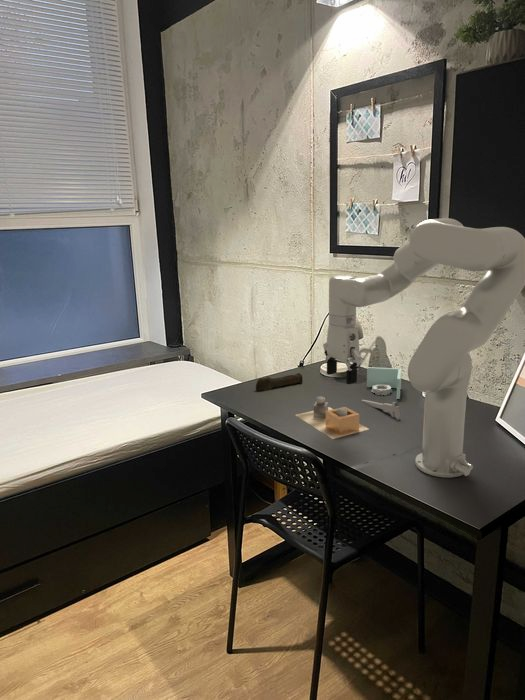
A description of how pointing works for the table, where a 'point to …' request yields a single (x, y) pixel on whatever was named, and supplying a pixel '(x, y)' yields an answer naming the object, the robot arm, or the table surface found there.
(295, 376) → the hand tool
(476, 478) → the table surface
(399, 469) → the table surface
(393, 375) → the l-shaped corner panel
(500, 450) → the table surface
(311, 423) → the board
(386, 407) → the caliper
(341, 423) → the collar
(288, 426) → the table surface
